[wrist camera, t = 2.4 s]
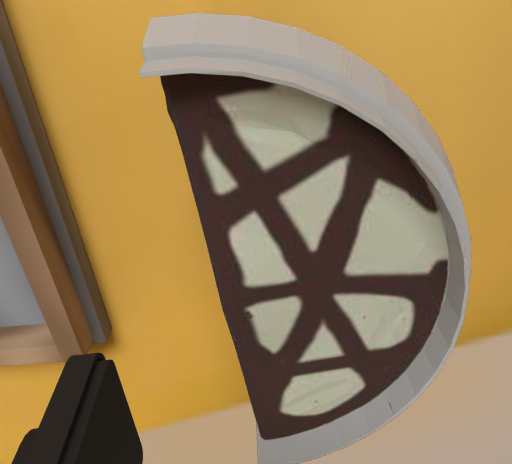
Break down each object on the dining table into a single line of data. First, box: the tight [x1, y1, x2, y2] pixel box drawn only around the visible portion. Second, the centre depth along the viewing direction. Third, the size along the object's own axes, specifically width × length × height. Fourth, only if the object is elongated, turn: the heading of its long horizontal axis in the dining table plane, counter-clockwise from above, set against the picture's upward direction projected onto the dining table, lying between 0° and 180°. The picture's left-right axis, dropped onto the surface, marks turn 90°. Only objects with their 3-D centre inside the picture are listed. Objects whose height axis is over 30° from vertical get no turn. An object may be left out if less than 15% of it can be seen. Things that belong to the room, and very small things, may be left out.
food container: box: [139, 13, 471, 464], centre depth 15 cm, size 12×6×10 cm, turn 10°
